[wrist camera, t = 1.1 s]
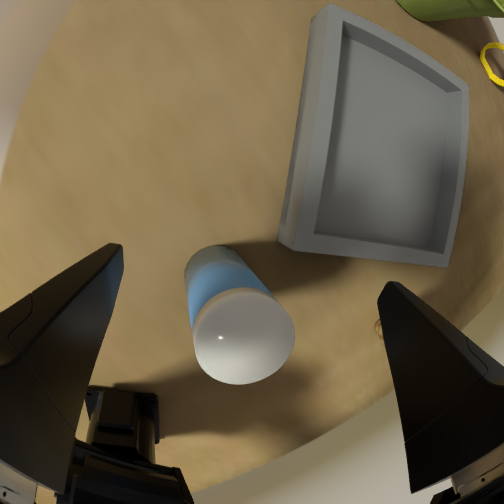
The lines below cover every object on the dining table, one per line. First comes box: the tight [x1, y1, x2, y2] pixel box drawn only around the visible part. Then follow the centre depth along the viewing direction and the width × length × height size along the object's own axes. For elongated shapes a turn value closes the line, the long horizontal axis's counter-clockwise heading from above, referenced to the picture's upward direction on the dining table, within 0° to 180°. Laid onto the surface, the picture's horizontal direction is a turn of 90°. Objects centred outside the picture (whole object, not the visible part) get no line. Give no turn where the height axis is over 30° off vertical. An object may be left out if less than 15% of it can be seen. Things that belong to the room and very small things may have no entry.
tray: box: [277, 3, 469, 268], centre depth 20 cm, size 18×16×3 cm
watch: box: [480, 42, 504, 87], centre depth 20 cm, size 6×3×6 cm, turn 43°
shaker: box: [184, 245, 295, 385], centre depth 17 cm, size 4×4×9 cm
